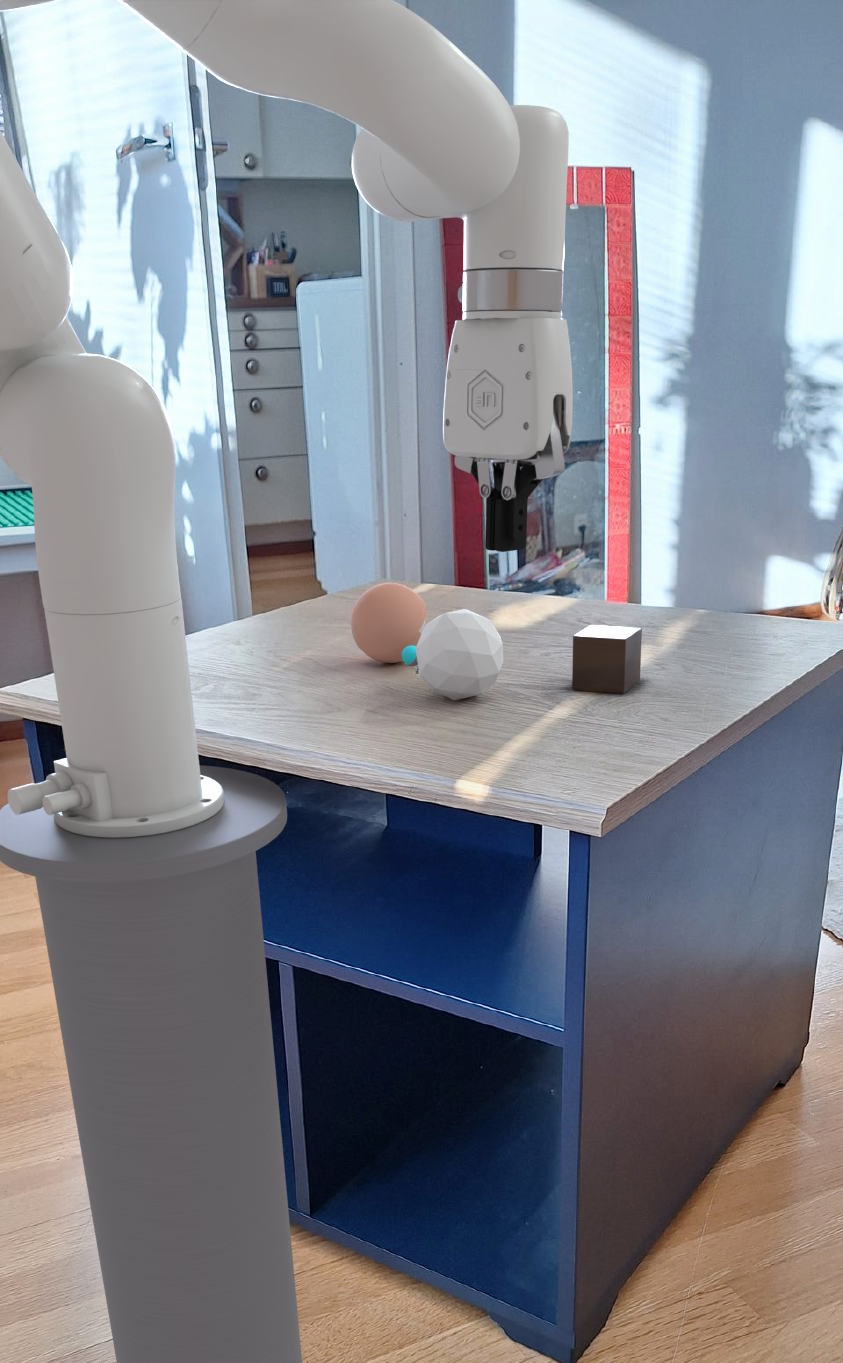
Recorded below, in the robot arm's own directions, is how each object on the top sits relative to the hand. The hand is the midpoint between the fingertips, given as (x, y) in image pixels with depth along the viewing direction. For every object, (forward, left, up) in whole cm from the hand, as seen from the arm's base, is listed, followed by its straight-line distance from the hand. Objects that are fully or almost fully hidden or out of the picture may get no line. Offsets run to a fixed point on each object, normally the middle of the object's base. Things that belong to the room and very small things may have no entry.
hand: (505, 548), depth 104 cm
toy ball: (+9, +24, -15) cm, 29 cm away
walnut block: (+15, +1, -14) cm, 20 cm away
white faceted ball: (+3, +10, -15) cm, 18 cm away
